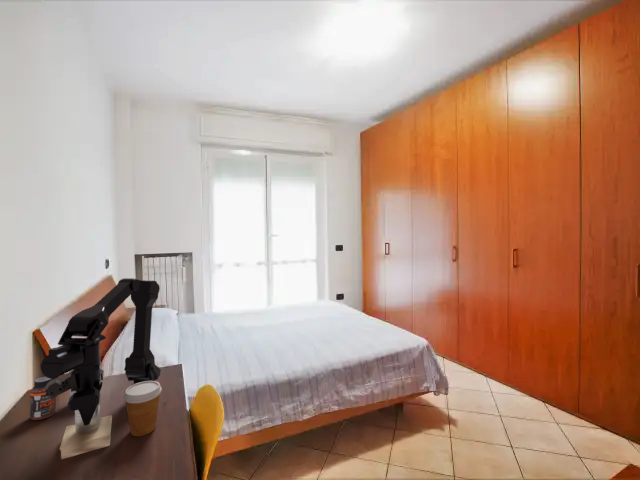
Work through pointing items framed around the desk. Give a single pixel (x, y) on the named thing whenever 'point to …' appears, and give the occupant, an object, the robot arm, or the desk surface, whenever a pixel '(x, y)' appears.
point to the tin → (93, 424)
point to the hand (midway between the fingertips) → (88, 419)
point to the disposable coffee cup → (142, 406)
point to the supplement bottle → (41, 400)
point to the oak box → (86, 439)
